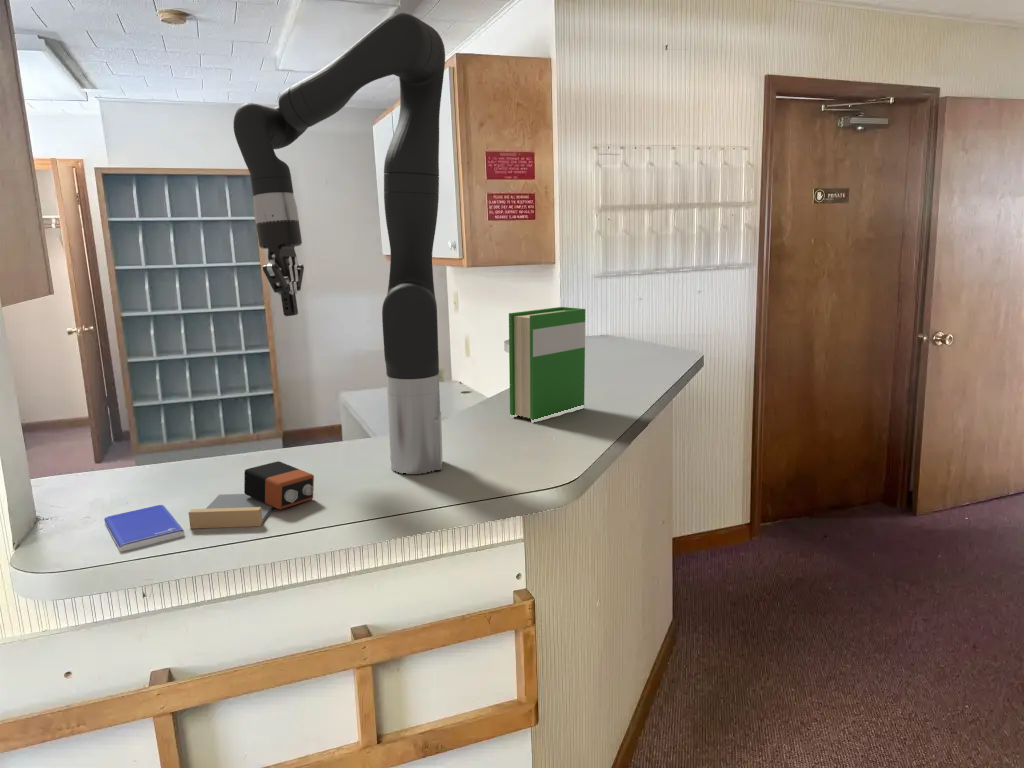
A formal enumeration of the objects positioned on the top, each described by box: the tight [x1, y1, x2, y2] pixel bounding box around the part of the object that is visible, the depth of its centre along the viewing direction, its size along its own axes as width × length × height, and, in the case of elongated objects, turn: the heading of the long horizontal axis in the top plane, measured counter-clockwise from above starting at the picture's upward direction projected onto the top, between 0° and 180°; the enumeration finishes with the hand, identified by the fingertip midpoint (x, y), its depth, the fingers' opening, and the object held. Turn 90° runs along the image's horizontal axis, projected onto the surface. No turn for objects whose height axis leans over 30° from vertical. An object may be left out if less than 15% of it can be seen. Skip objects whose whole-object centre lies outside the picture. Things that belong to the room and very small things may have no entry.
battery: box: [243, 460, 315, 510], centre depth 112 cm, size 4×7×10 cm
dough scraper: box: [188, 493, 274, 529], centre depth 108 cm, size 10×12×2 cm
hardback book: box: [508, 306, 586, 420], centre depth 162 cm, size 18×7×24 cm, turn 135°
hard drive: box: [103, 504, 186, 552], centre depth 102 cm, size 2×8×12 cm
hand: (291, 315), depth 131 cm, fingers closed
